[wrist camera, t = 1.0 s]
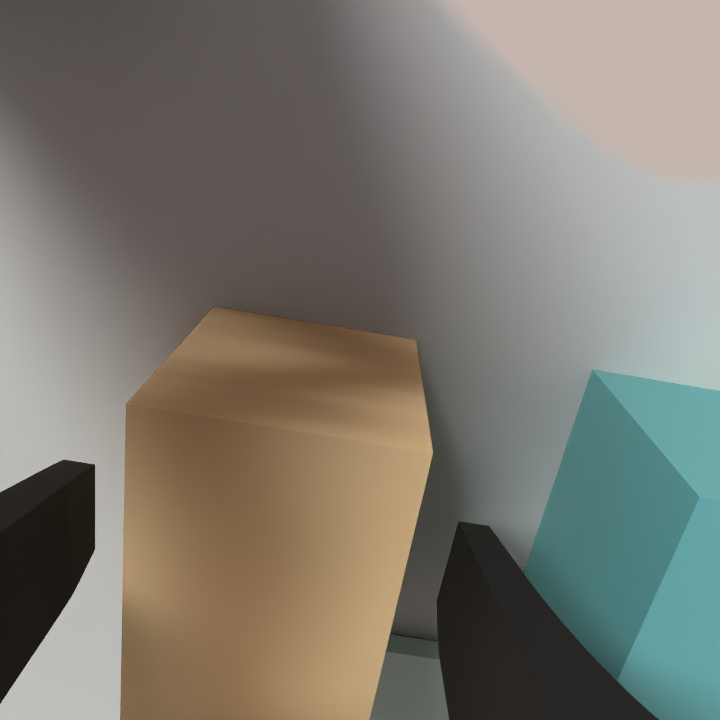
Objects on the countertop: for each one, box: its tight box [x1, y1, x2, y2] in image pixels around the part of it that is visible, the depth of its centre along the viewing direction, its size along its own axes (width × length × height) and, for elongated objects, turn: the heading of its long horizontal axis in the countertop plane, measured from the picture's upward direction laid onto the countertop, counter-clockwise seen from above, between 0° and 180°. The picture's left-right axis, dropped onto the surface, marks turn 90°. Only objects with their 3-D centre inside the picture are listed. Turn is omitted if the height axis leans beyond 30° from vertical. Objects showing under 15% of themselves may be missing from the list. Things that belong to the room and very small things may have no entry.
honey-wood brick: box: [120, 306, 433, 720], centre depth 12 cm, size 4×7×5 cm, turn 171°
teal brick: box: [524, 370, 720, 720], centre depth 13 cm, size 4×7×5 cm, turn 171°
